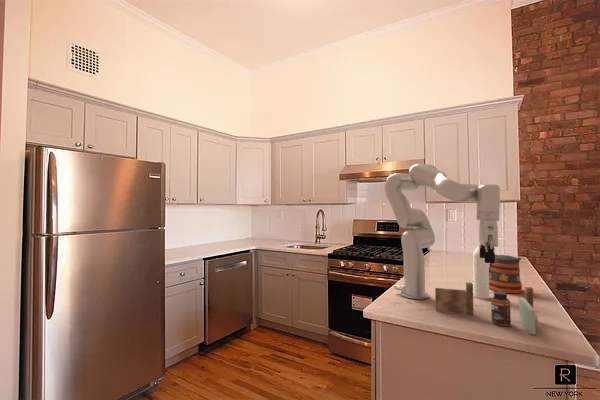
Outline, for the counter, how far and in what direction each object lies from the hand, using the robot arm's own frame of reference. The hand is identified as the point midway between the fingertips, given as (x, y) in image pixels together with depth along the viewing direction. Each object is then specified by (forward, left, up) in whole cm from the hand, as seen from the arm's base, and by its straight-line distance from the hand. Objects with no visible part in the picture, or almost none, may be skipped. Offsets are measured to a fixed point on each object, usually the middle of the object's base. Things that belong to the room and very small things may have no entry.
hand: (486, 260), depth 121 cm
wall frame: (-2, +2, -22) cm, 22 cm away
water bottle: (+4, +29, -22) cm, 36 cm away
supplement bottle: (+3, -6, -22) cm, 23 cm away
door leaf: (+11, -7, -21) cm, 25 cm away
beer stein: (+15, +46, -22) cm, 53 cm away
